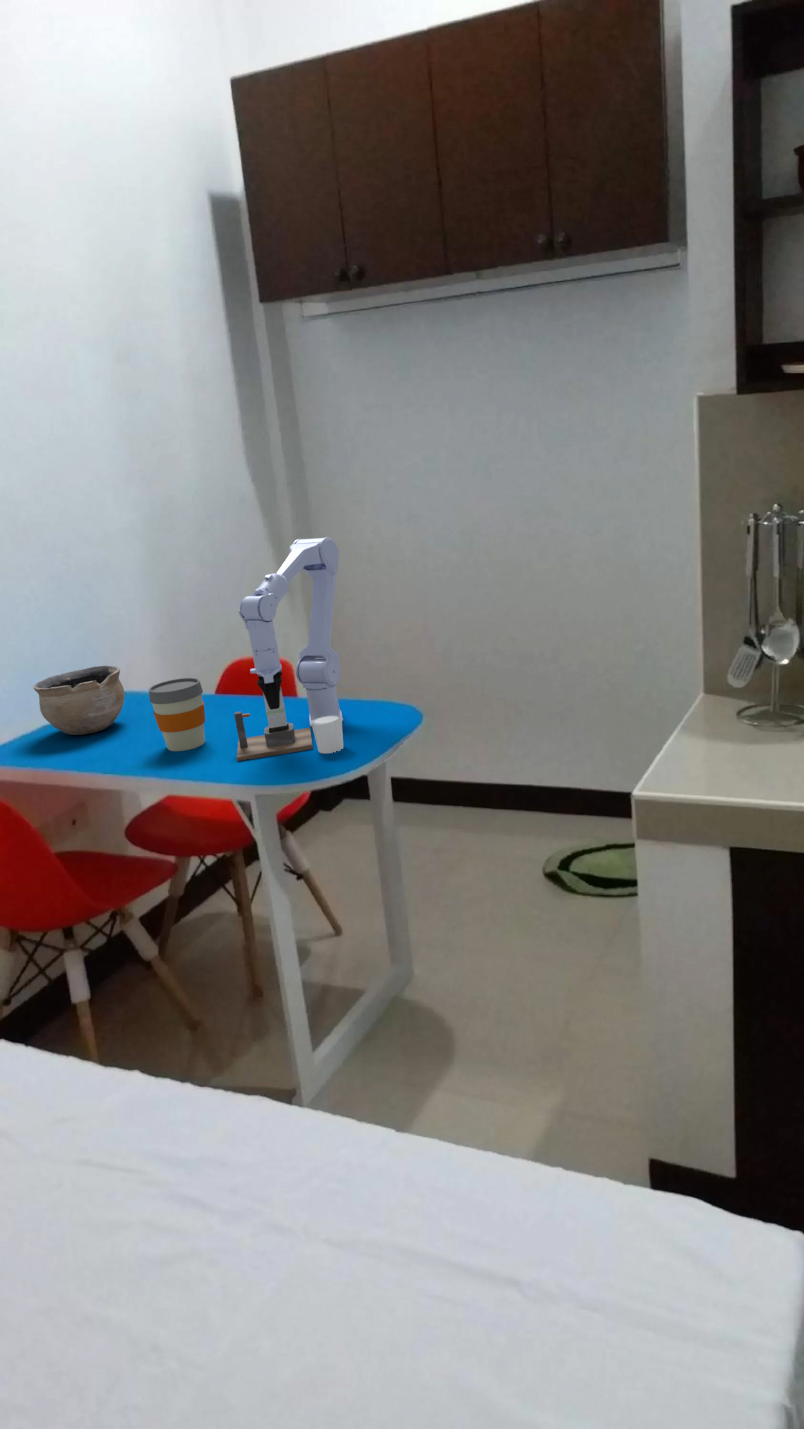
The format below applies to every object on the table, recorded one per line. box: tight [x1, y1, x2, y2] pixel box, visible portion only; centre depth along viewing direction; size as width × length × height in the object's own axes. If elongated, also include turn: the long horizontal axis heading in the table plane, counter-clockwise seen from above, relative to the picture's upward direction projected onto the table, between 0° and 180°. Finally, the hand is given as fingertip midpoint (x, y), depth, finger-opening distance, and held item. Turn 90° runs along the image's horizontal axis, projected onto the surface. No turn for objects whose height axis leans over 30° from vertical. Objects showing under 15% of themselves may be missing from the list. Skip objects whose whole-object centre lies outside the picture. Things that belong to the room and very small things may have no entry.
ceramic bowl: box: [32, 665, 126, 736], centre depth 285 cm, size 22×22×15 cm
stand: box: [234, 711, 314, 762], centre depth 249 cm, size 14×17×9 cm
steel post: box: [262, 687, 288, 728], centre depth 248 cm, size 4×4×8 cm
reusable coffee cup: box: [148, 677, 206, 752], centre depth 259 cm, size 13×12×15 cm
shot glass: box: [311, 715, 344, 754], centre depth 241 cm, size 7×7×7 cm
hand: (274, 706), depth 248 cm, fingers closed on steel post, 4 cm apart
